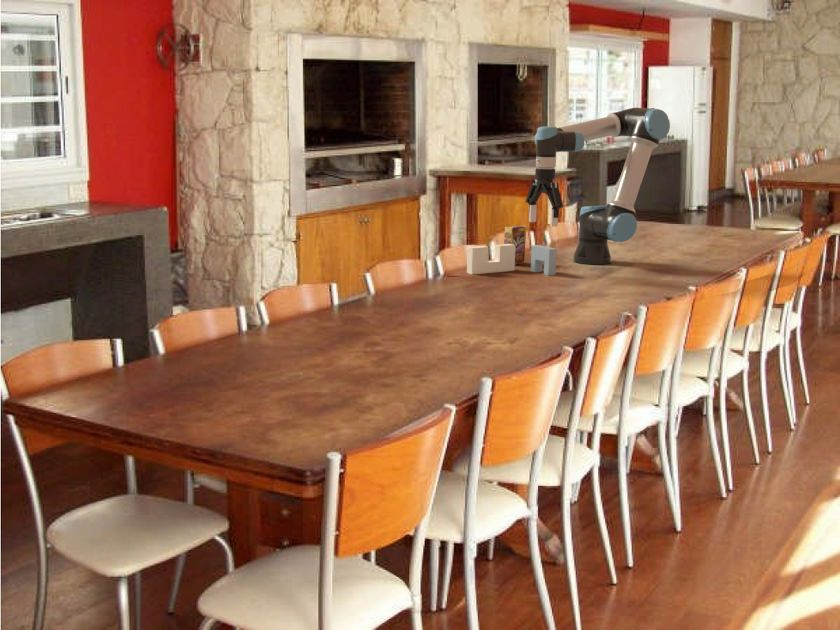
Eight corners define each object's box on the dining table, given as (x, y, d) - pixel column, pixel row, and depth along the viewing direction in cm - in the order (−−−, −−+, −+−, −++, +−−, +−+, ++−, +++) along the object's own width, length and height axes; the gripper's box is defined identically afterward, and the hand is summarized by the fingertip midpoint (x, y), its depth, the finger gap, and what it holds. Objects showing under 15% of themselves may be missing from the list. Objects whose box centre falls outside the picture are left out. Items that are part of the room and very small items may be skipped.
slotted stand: (509, 269, 426) (510, 243, 424) (514, 270, 423) (515, 244, 421) (466, 272, 415) (467, 246, 413) (471, 274, 413) (472, 248, 410)
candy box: (510, 265, 433) (511, 227, 430) (502, 264, 436) (503, 226, 433) (525, 263, 440) (526, 225, 436) (517, 262, 443) (518, 224, 439)
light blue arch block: (530, 271, 422) (531, 245, 420) (537, 270, 424) (538, 244, 422) (548, 275, 413) (549, 249, 411) (555, 274, 415) (556, 248, 413)
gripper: (518, 165, 419) (516, 220, 424) (557, 171, 398) (555, 228, 403) (533, 165, 423) (531, 219, 428) (574, 170, 402) (571, 227, 407)
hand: (543, 224), depth 415 cm, fingers open, 13 cm apart
